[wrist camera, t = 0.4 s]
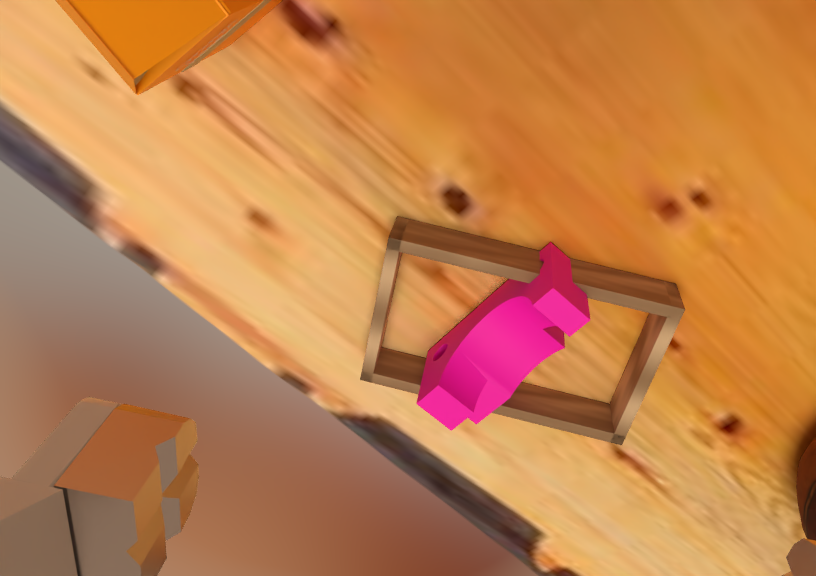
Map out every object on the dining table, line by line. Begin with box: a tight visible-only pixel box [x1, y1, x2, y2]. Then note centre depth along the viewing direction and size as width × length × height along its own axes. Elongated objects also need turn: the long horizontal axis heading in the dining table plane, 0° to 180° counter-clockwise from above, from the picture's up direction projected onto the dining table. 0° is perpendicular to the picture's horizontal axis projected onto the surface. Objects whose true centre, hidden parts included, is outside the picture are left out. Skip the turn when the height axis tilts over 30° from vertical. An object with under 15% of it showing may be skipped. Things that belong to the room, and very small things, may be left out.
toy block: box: [417, 242, 590, 430], centre depth 58 cm, size 15×6×8 cm, turn 140°
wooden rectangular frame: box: [360, 216, 685, 445], centre depth 60 cm, size 14×23×4 cm, turn 79°
